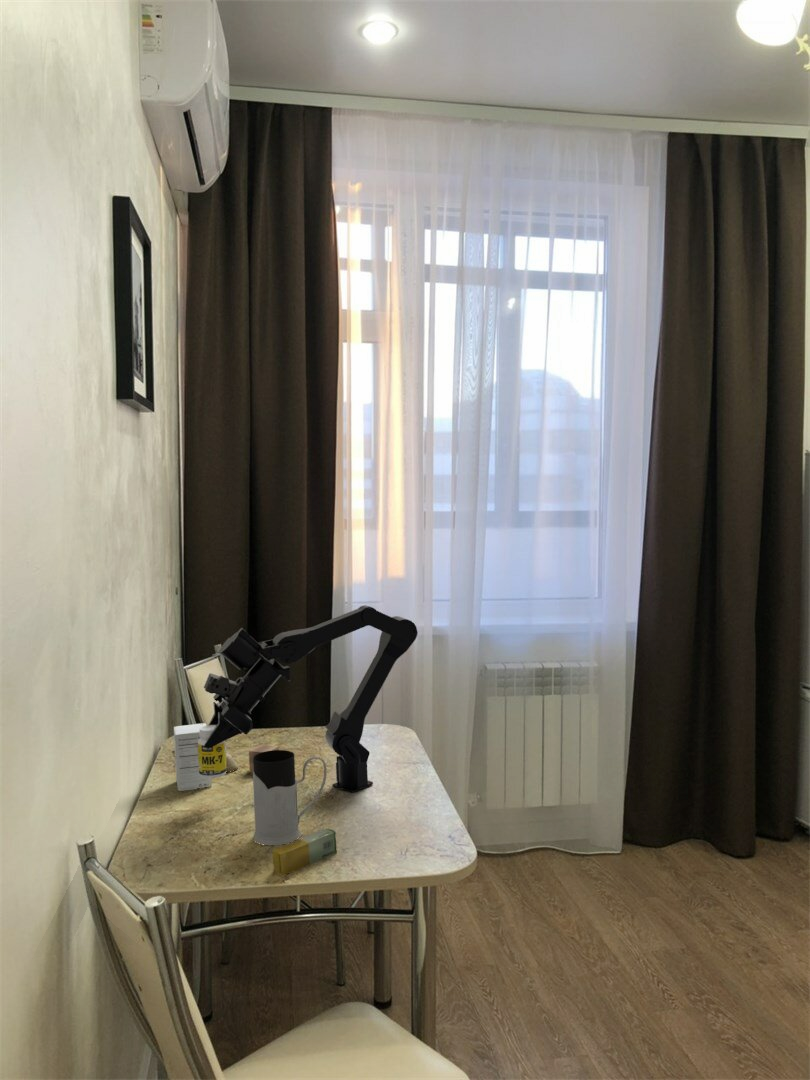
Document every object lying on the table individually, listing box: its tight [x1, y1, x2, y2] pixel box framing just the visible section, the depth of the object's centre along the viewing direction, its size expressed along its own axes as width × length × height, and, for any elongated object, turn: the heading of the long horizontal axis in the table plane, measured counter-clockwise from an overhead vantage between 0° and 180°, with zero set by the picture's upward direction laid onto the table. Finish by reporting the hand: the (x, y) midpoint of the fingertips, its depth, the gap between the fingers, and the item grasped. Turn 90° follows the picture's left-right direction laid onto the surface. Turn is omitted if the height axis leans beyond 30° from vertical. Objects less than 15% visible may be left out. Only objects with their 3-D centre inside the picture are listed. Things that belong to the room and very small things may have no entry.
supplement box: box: [173, 722, 212, 792], centre depth 181 cm, size 7×7×13 cm
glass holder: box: [252, 749, 328, 846], centre depth 151 cm, size 9×14×15 cm, turn 111°
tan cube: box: [248, 744, 280, 773], centre depth 190 cm, size 5×5×5 cm
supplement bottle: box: [198, 724, 227, 779], centre depth 166 cm, size 6×6×10 cm
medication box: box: [271, 828, 338, 876], centre depth 139 cm, size 12×3×4 cm, turn 135°
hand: (204, 743), depth 166 cm, fingers closed on supplement bottle, 5 cm apart
